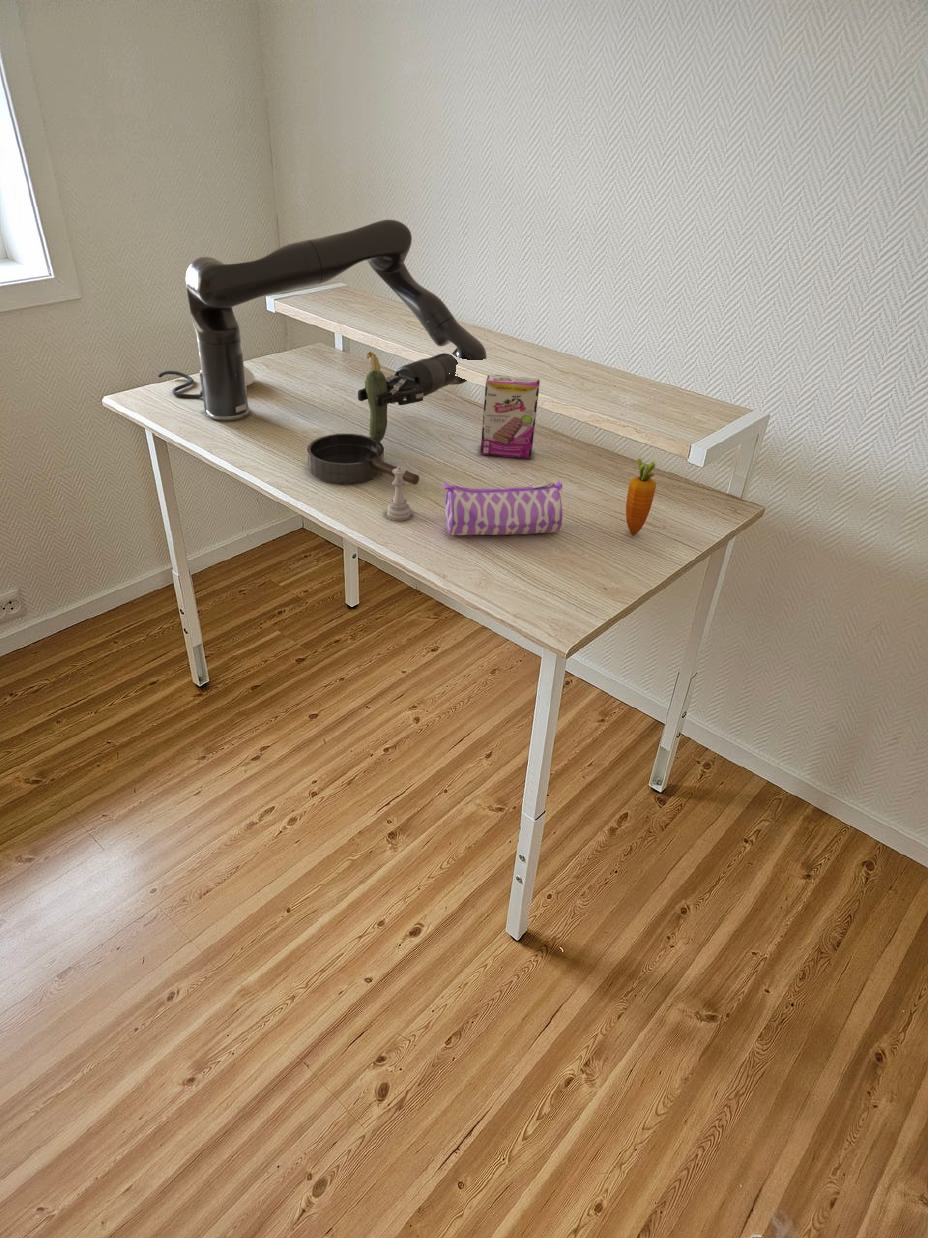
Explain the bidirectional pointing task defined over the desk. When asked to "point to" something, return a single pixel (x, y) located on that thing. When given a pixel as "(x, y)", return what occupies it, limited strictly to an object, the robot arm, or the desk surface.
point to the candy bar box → (509, 416)
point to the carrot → (640, 498)
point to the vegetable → (374, 388)
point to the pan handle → (389, 468)
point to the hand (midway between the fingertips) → (368, 399)
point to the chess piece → (398, 498)
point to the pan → (344, 458)
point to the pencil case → (503, 510)
